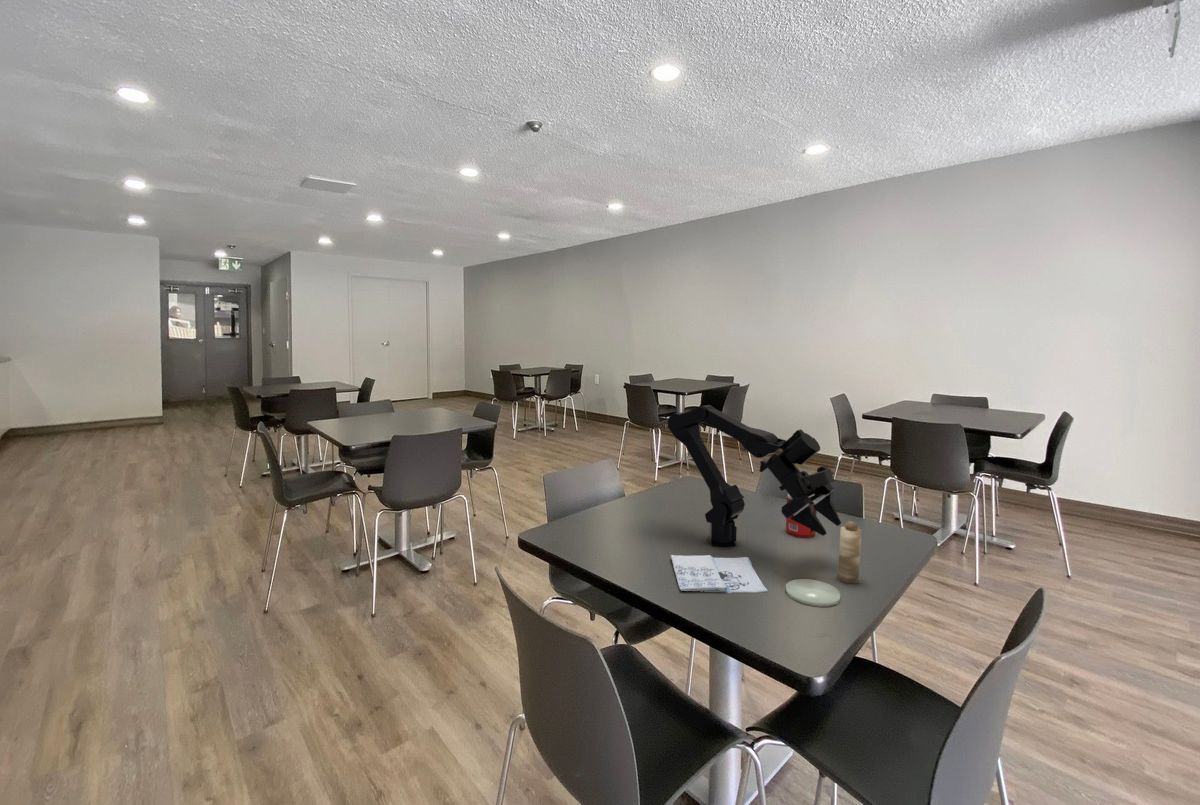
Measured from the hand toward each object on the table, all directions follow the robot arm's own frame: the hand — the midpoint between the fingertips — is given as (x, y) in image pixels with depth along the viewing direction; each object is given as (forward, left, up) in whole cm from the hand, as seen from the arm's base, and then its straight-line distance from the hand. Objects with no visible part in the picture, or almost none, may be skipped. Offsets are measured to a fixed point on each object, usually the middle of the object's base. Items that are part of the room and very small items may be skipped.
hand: (832, 529), depth 127 cm
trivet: (-8, -11, -11) cm, 17 cm away
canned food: (+2, +27, -11) cm, 30 cm away
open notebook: (-27, -2, -12) cm, 29 cm away
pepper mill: (+3, -3, -11) cm, 12 cm away
